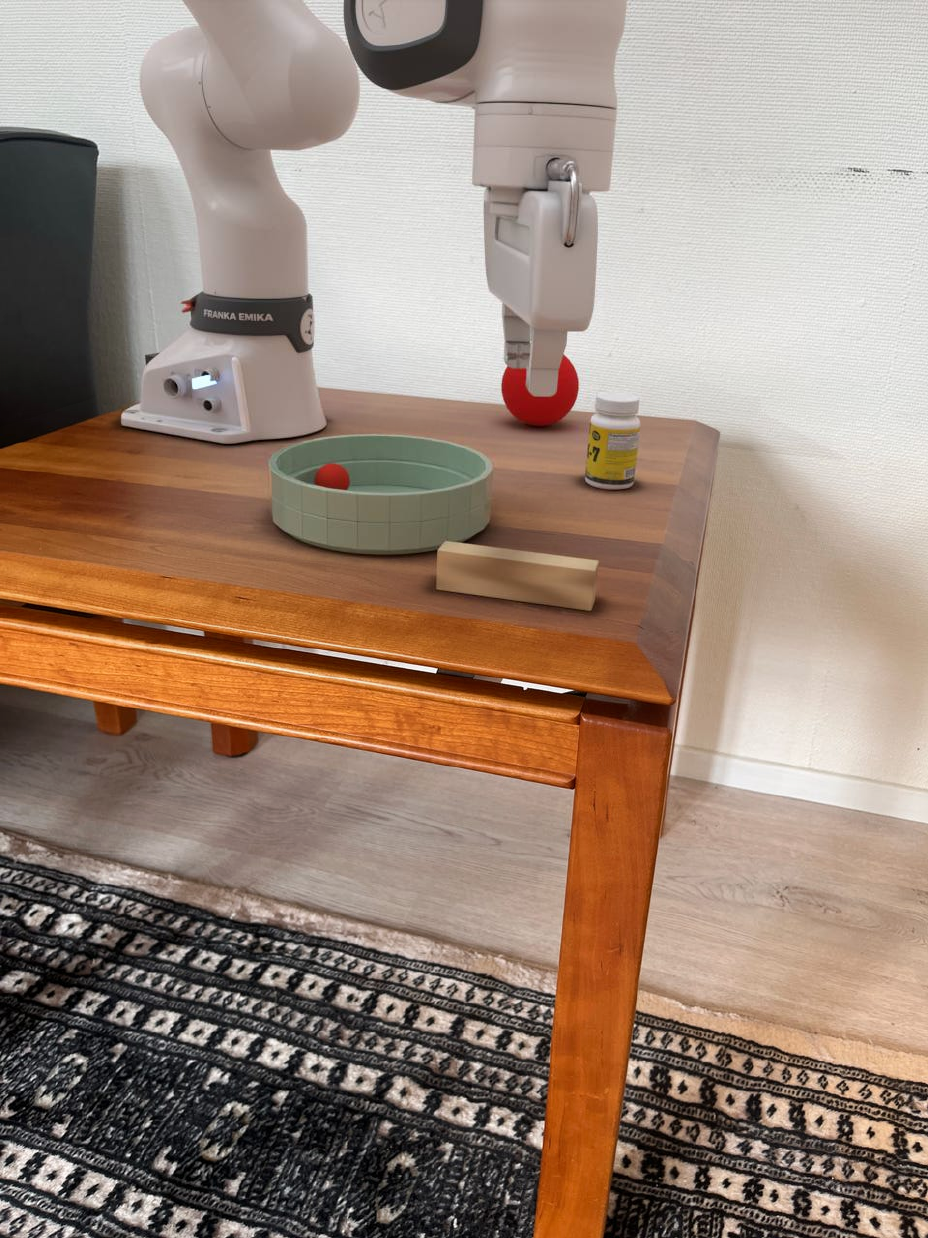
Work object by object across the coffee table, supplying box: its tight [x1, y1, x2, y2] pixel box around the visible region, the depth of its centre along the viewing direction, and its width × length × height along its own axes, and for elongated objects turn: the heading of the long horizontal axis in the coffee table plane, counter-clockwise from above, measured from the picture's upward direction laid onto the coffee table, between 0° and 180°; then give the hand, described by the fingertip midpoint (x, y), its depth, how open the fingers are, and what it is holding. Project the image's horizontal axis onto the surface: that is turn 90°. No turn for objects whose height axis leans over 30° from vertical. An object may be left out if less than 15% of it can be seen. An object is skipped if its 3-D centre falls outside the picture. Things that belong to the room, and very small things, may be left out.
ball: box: [315, 463, 350, 490], centre depth 85 cm, size 3×3×3 cm
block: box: [435, 541, 600, 612], centre depth 69 cm, size 11×2×3 cm, turn 75°
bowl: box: [267, 433, 494, 556], centre depth 82 cm, size 18×18×5 cm
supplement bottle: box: [584, 391, 641, 491], centre depth 94 cm, size 5×5×8 cm
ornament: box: [500, 353, 580, 427], centre depth 114 cm, size 9×9×10 cm
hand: (527, 379), depth 68 cm, fingers open, 8 cm apart
